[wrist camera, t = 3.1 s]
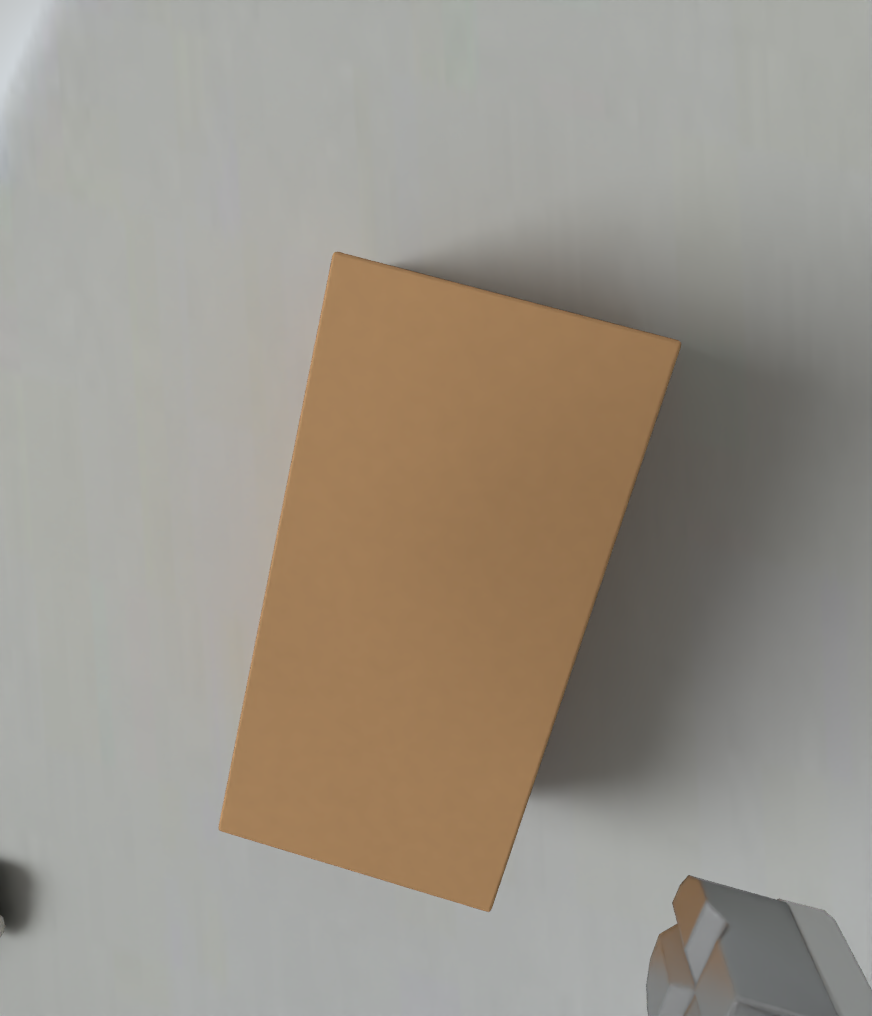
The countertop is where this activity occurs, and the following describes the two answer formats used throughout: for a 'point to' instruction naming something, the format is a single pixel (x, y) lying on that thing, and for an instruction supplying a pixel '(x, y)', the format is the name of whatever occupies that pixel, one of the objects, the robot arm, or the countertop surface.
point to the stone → (1, 925)
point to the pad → (434, 572)
